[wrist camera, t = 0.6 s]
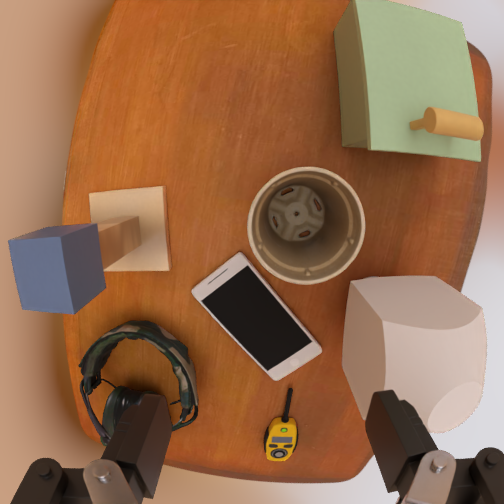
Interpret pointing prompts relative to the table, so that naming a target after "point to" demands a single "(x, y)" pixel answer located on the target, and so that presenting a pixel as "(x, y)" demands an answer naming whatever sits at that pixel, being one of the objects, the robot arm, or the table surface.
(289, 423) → the yellow walkie talkie
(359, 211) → the flower pot
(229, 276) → the smartphone
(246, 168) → the table surface
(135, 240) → the post
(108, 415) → the headphones
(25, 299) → the block
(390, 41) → the lid
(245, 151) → the table surface
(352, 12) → the chest
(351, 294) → the light fixture
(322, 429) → the table surface
